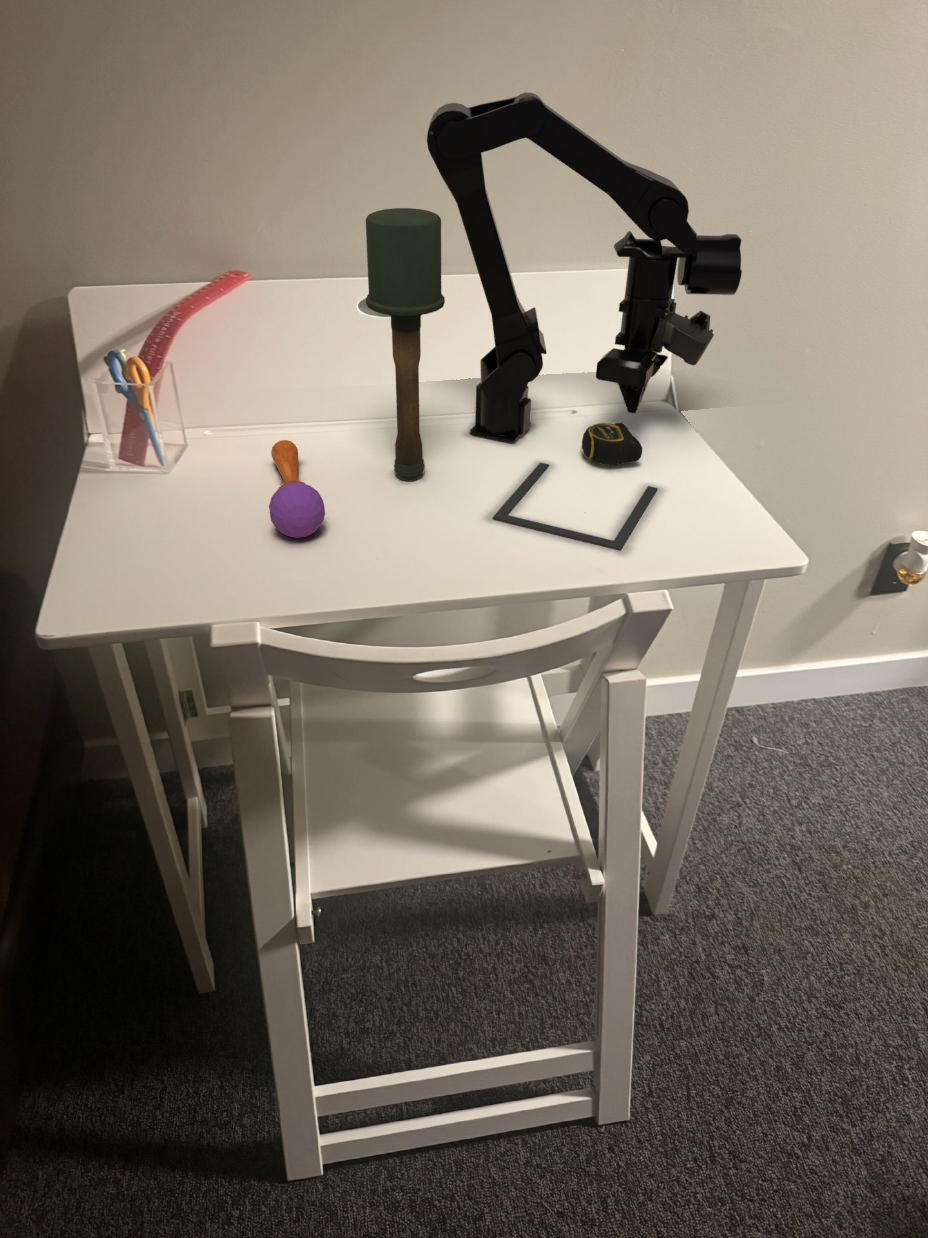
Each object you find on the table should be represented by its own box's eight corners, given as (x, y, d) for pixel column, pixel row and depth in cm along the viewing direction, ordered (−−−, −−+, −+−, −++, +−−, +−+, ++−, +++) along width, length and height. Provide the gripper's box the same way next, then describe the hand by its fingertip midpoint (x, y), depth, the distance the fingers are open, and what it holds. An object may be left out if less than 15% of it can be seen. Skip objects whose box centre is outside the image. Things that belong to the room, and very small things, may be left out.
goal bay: (492, 519, 103) (492, 517, 103) (540, 464, 114) (540, 462, 114) (620, 550, 98) (621, 548, 98) (657, 490, 109) (657, 487, 109)
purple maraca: (311, 431, 112) (330, 497, 95) (306, 476, 114) (324, 548, 98) (261, 427, 110) (273, 493, 93) (258, 473, 113) (269, 545, 96)
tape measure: (641, 469, 113) (645, 441, 111) (589, 472, 112) (592, 445, 110) (624, 445, 119) (627, 418, 117) (574, 448, 118) (577, 421, 116)
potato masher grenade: (447, 461, 114) (448, 207, 96) (439, 494, 107) (439, 227, 89) (381, 457, 115) (370, 204, 97) (369, 490, 108) (354, 224, 90)
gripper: (696, 325, 101) (674, 452, 111) (729, 281, 115) (707, 397, 124) (601, 310, 105) (588, 434, 114) (644, 270, 119) (629, 383, 128)
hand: (632, 411), depth 120 cm, fingers closed
